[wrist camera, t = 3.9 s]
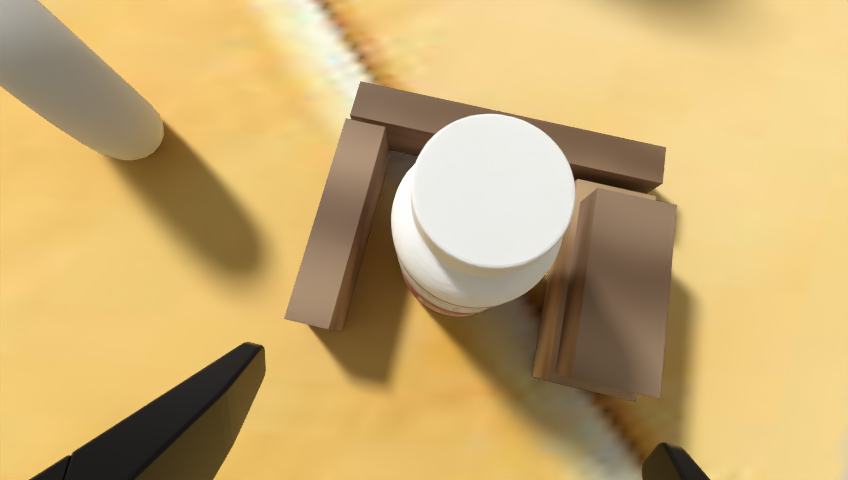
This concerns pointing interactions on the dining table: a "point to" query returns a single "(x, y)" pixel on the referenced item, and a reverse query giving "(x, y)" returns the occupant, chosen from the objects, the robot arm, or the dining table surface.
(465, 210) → the pill bottle
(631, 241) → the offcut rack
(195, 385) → the robot arm
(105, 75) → the grey rounded piece
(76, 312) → the dining table surface
